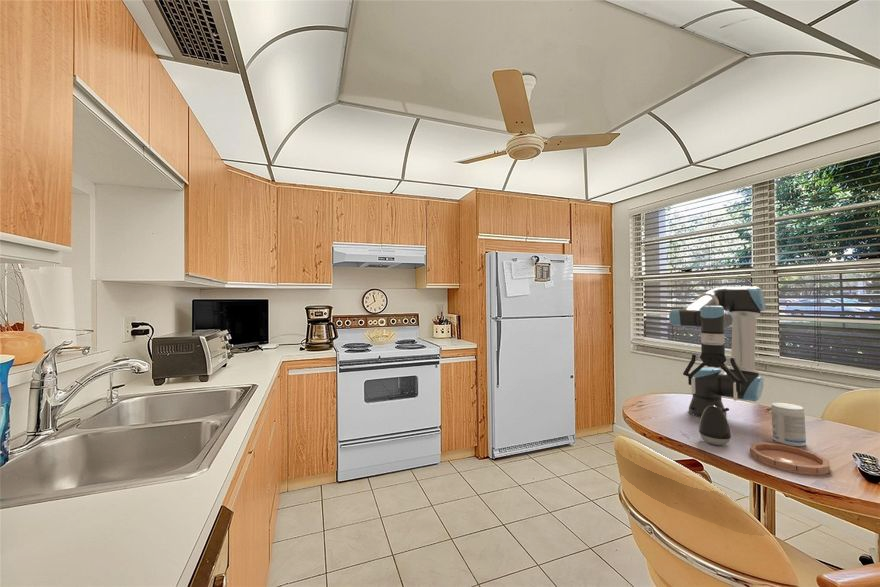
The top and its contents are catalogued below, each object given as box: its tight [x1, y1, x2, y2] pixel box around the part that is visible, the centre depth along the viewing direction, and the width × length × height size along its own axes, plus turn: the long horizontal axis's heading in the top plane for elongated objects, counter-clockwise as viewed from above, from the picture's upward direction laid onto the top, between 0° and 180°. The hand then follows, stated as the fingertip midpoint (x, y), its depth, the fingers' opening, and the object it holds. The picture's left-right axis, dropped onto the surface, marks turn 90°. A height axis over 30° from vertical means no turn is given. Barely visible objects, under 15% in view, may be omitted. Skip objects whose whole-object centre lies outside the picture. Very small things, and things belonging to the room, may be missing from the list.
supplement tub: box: [770, 402, 807, 447], centre depth 142 cm, size 10×10×15 cm
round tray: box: [749, 442, 831, 476], centre depth 126 cm, size 20×20×2 cm
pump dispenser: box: [698, 405, 732, 447], centre depth 142 cm, size 10×10×15 cm
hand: (713, 396), depth 142 cm, fingers open, 13 cm apart
